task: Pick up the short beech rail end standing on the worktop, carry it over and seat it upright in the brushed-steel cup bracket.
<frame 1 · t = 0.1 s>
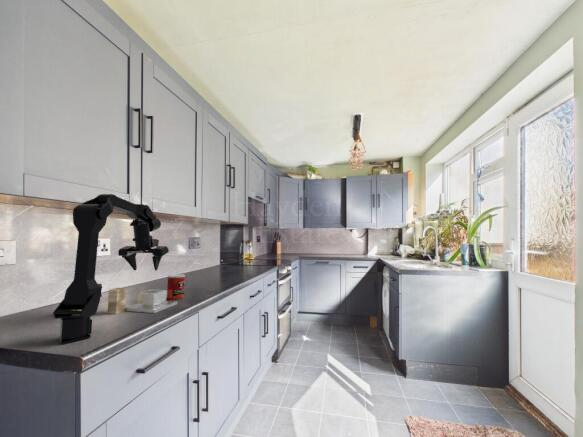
hand: (145, 270, 110), 15 cm above the worktop, tool pointing down, fingers open, 9 cm apart
cup bracket: (152, 307, 108), on the worktop
lemon: (72, 314, 99), on the worktop
canned food: (175, 298, 125), on the worktop
rail end: (116, 312, 101), on the worktop
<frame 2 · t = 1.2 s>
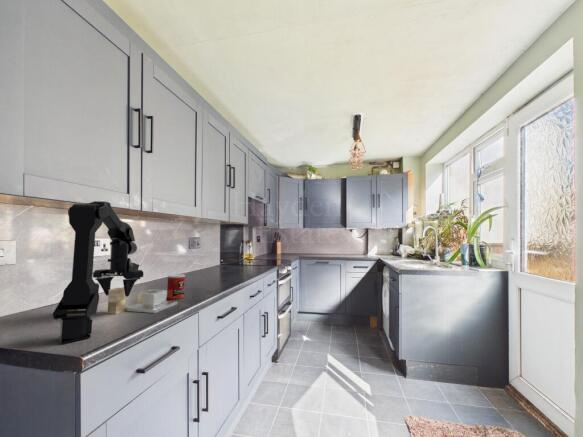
hand: (117, 295, 102), 6 cm above the worktop, tool pointing down, fingers open, 9 cm apart
nothing on the worktop moved.
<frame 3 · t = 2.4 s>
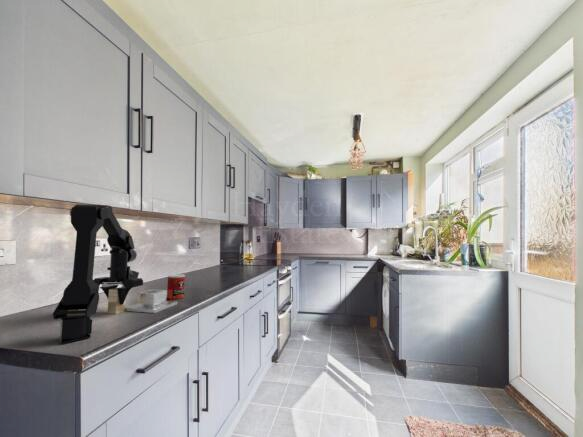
hand: (116, 304, 102), 3 cm above the worktop, tool pointing down, fingers closed on rail end, 4 cm apart
rail end: (116, 312, 101), on the worktop, touching gripper
everything else where it was.
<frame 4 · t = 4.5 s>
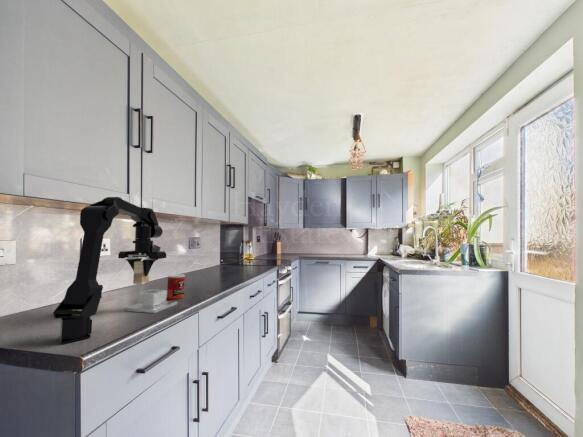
hand: (141, 275, 107), 13 cm above the worktop, tool pointing down, fingers closed on rail end, 4 cm apart
rail end: (141, 283, 107), point 10 cm above the worktop, touching gripper
everything else where it was.
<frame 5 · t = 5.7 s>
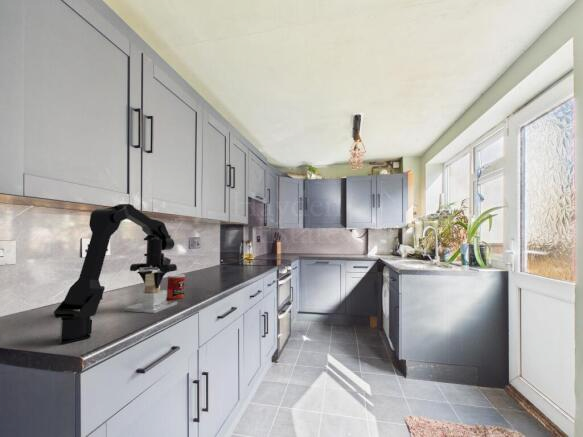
hand: (152, 288, 109), 8 cm above the worktop, tool pointing down, fingers closed on rail end, 4 cm apart
rail end: (152, 295, 109), point 5 cm above the worktop, touching gripper
everything else where it was.
when the fingers open (7 cm above the worktop, at t = 6.5 s): rail end drops 1 cm, resting on cup bracket.
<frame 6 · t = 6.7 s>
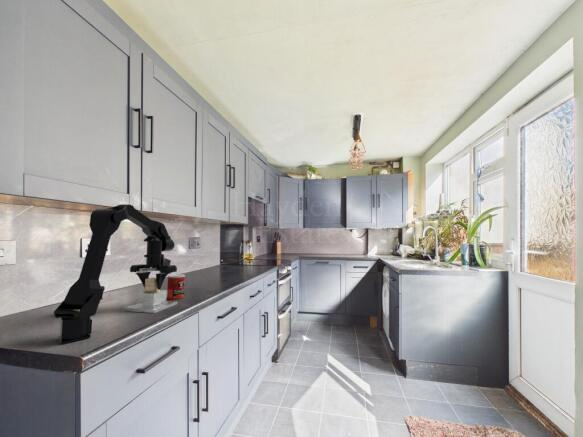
hand: (152, 289, 109), 7 cm above the worktop, tool pointing down, fingers open, 6 cm apart
rail end: (152, 300, 109), point 3 cm above the worktop, touching cup bracket
everything else where it was.
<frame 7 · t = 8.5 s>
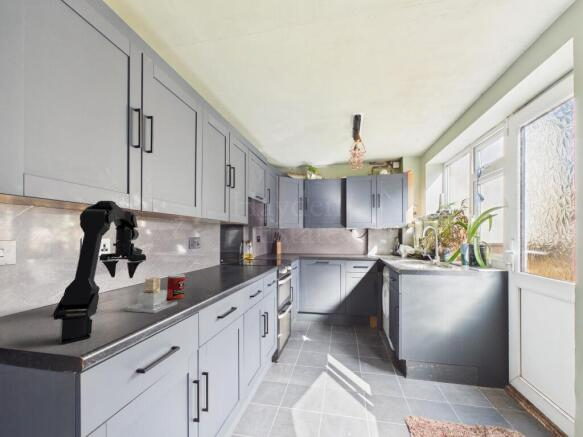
hand: (122, 277, 109), 12 cm above the worktop, tool pointing down, fingers open, 9 cm apart
nothing on the worktop moved.
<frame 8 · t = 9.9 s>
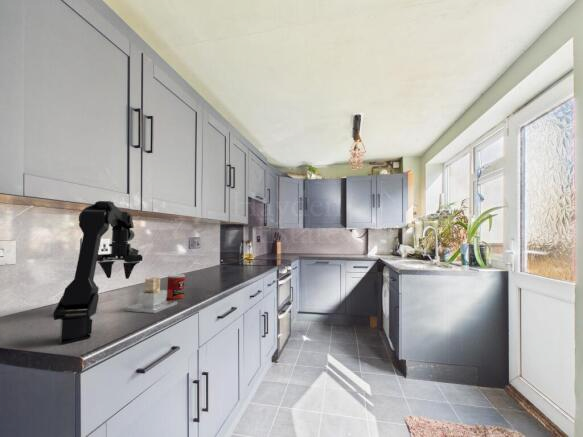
hand: (118, 278, 109), 12 cm above the worktop, tool pointing down, fingers open, 9 cm apart
nothing on the worktop moved.
at the end: rail end 0.1 cm off-centre on the cup bracket, point 3.0 cm above the cup bracket's base; rail end tilted 0°; the gripper is holding nothing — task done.
